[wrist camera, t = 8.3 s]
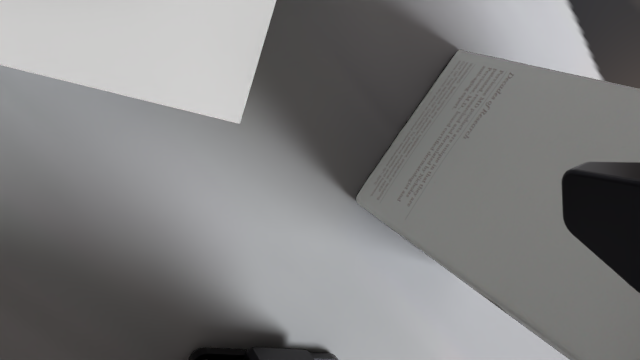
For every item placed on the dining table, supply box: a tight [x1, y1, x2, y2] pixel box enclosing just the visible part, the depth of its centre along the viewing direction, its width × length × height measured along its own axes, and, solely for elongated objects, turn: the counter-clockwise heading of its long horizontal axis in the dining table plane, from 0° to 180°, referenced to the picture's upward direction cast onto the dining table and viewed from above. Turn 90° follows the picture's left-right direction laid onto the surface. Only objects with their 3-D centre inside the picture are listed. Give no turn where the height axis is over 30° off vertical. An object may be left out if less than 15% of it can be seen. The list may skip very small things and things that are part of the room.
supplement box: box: [356, 50, 640, 360], centre depth 20 cm, size 7×7×13 cm
